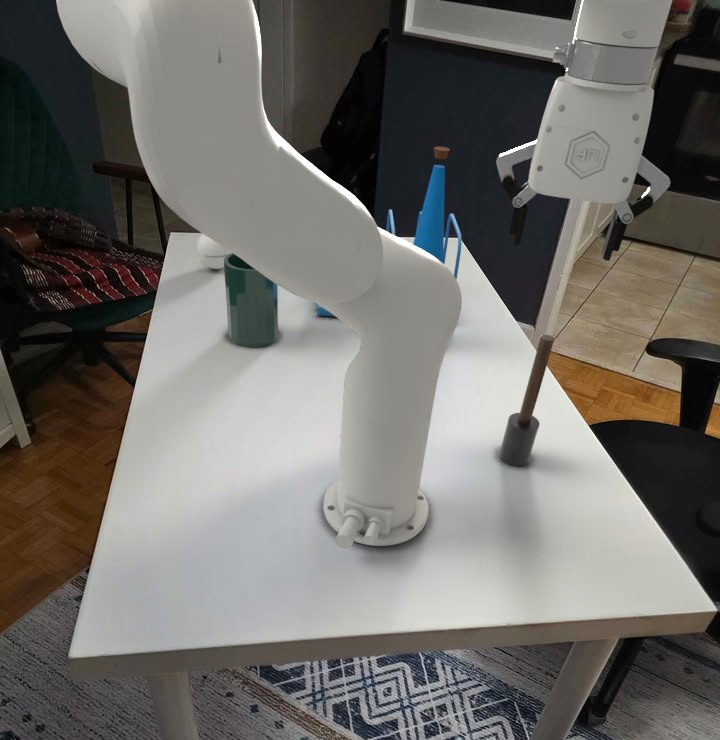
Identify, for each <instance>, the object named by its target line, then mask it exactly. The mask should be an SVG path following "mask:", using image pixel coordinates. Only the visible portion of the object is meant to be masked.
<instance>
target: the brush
mask: <svg viewBox="0 0 720 740" xmlns="http://www.w3.org/2000/svg"><path fill="white" fill-rule="evenodd" d="M554 342H555V337H553V336H552V335H549V334H542V335H540V338H539V341H538V345H537V348H536V353H535V356H534V360H533V362H532V363H533V364H532V367H531V371H530V375H529V378H528V381H527V385H526V389H525V392H524V396H523V400H522V404H521V408H520V410H519V412H514V413H512V414H510V415H509V416H508V420H507V423H506V427H505V430H504V435H503V440H502V442H501V446H500V450H499V455H498V457H499V459H500V460H501V461H502V462H503V463H505V464H506V465H507V466H508V465H509V466H511V467H524V466H526V465H527V464H528V463H529V461H530V457H531V454H532V451H533V449H534V445H535V442H536V438H537V435H538V432H539V428H540V422H539V419H538V418H537V417H535V416H534V415H533V414H534V411H535V407H536V404H537V401H538V397H539V394H540V391H541V386H542V383H543V381H544V376H545V373H546V369H547V366H548V363H549V360H550V356H551V352H552V349H553V345H554Z"/></svg>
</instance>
